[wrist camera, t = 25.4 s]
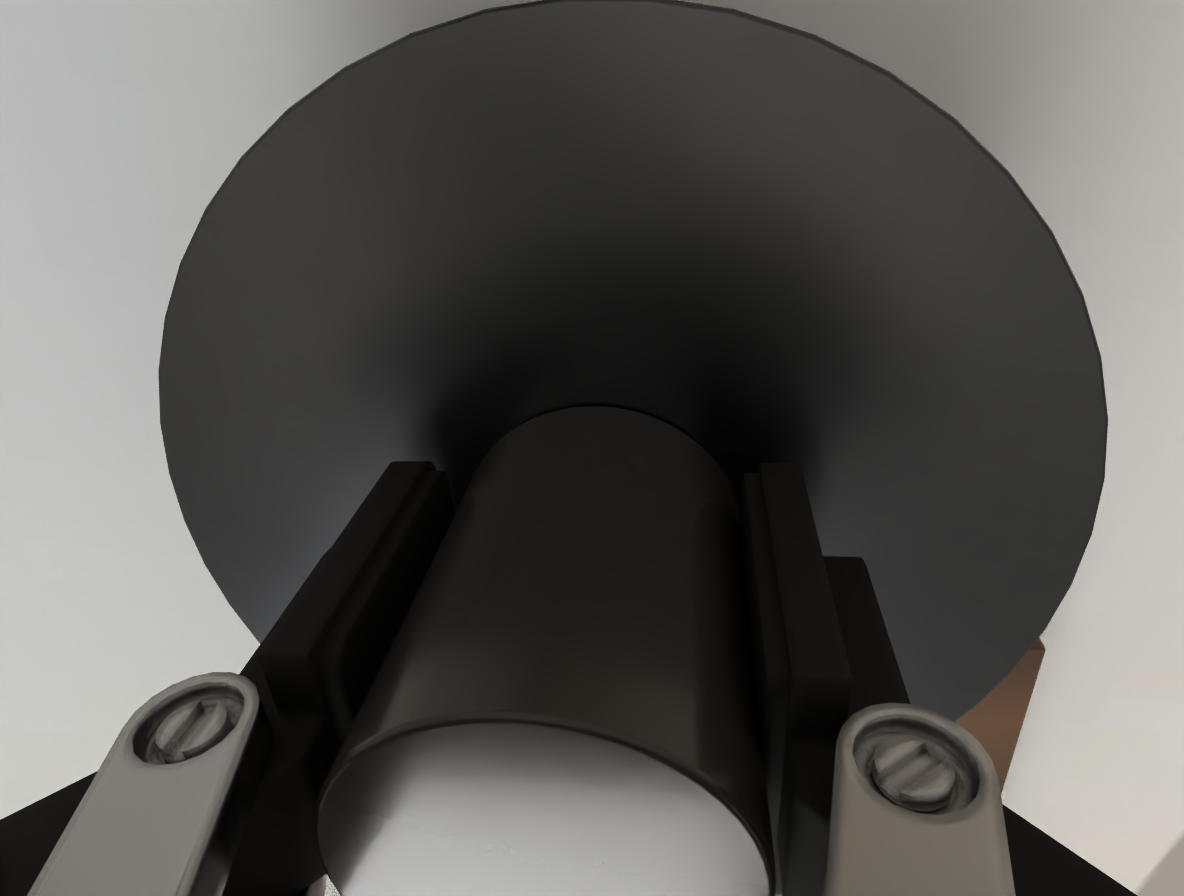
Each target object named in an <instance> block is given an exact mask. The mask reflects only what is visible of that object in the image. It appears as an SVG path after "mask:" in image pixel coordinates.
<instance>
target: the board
mask: <svg viewBox="0 0 1184 896" xmlns="http://www.w3.org/2000/svg"><path fill="white" fill-rule="evenodd" d="M1044 653H1045V647H1044V645H1043V643H1042V642H1041V640H1040V638H1038V639H1037V640H1036V641H1035V643H1034V644H1033V645H1032V646H1031V648H1030V649H1029V650H1028V652H1027V653H1026V654H1025V655H1024V657H1023V658H1022V659H1021V660H1020V662H1019V663H1018V664H1017V665H1016V667H1015V668H1014V669H1013V670H1012V671H1011V672H1010V673H1009V674H1008V675H1007V676H1006V677H1005V678H1004V679H1003V680H1002V681H1001V682H1000V683H999V684H998V685H997V686H996V687H995V688H994V689H993V690H992V691H991V692H990V693H989V694H988V695H987V696H986V697H985V698H984V699H983V700H981V701H980V702H979V703H978V704H977V705H976V706H975V707H974V708H972V709H971V710H970V711H968V712H967V713H966V714H964V715H963V716H962V717H961V718H959V719H958V720H957V721H955V722H957V723H958V724H960V725H961V726H962V727H963V728H964V729H966V730H967V731H968V732H969V733H970V734H971V735H973V736H974V737H975V738H976V739H977V740H978V741H979V742H980V744H981V745H982V746H983V748H984V749H985V751H986V752H987V753H988V755H989V756H990V757H991V759H992V762H993V765H994V767H995V770H996V773H997V776H998V779H999V786H1000V793H1002V789H1003V786H1004V783H1005V780H1006V776H1007V773H1008V770H1009V767H1010V763H1011V760H1012V757H1013V754H1014V750H1015V747H1016V744H1017V741H1018V737H1019V734H1020V731H1021V727H1022V724H1023V721H1024V718H1025V714H1026V711H1027V708H1028V705H1029V701H1030V698H1031V695H1032V692H1033V688H1034V685H1035V682H1036V679H1037V675H1038V672H1039V669H1040V666H1041V662H1042V659H1043V656H1044ZM775 896H782V895H781V894H775Z"/></svg>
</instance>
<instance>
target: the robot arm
mask: <svg viewBox="0 0 1184 896" xmlns="http://www.w3.org/2000/svg"><path fill="white" fill-rule="evenodd" d="M453 517H454V508H453V503H452V497H451V492H450V486H449V481H448V477H447V474H446V472H444V471H436V468H435V466H434V464H433V463H432V462H431V461H392V462H391V463H390V464H389V465H388V467H387V468H386V470H385V471H384V472H383V474H382V475H381V477H380V478H379V480H378V481H377V483H376V484H375V485H374V487H373V488H372V490H371V491H370V493H369V494H368V495H367V497H366V498H365V500H364V501H363V503H362V504H361V505H360V507H359V508H358V510H357V511H356V513H355V514H354V515H353V517H352V518H351V520H350V521H349V523H348V524H347V525H346V527H345V528H344V530H343V531H342V533H341V534H340V535H339V537H338V538H337V540H336V541H335V543H334V544H333V545H332V547H331V548H330V549H329V550H328V551H327V552H326V553H325V554H324V555H323V556H322V558H321V559H320V560H319V562H318V563H317V565H316V566H315V568H314V569H313V570H312V572H311V573H310V575H309V576H308V578H307V579H306V580H305V582H304V583H303V585H302V586H301V587H300V589H299V590H298V592H297V593H296V595H295V596H294V597H293V599H292V600H291V602H290V603H289V605H288V606H287V607H286V609H285V610H284V612H283V613H282V614H281V616H280V617H279V619H278V620H277V622H276V623H275V624H274V626H273V627H272V629H271V630H270V632H269V633H268V634H267V636H266V637H265V639H264V640H263V641H262V643H261V644H260V646H259V647H258V649H257V650H256V651H255V653H254V654H253V656H252V657H251V659H250V660H249V661H248V663H247V664H246V666H245V667H244V668H243V670H242V671H241V673H240V674H239V675H238V674H235V673H231V672H212V673H208V674H203V675H198V676H194V677H191V678H188V679H186V680H183V681H181V682H178V683H176V684H173V685H171V686H170V687H168V688H166V689H165V690H163V691H161V692H160V693H158V694H156V695H155V696H153V697H152V698H150V699H149V700H148V701H147V702H146V703H145V704H144V705H142V706H141V707H140V708H139V709H138V710H137V711H136V712H134V714H133V715H132V716H131V718H130V719H129V720H128V722H127V723H126V724H125V726H124V727H123V728H122V730H121V732H120V733H119V735H118V737H117V739H116V740H115V742H114V744H113V746H112V747H111V749H110V751H109V753H108V754H107V756H106V758H105V760H104V762H103V763H102V765H101V767H100V769H99V770H98V771H97V772H95V773H93V774H91V775H89V776H87V777H85V778H83V779H81V780H79V781H77V782H75V783H73V784H71V785H69V786H67V787H65V788H63V789H61V790H59V791H57V792H55V793H53V794H51V795H49V796H47V797H45V798H43V799H41V800H39V801H37V802H35V803H33V804H31V805H29V806H27V807H25V808H23V809H21V810H19V811H17V812H15V813H13V814H11V815H9V816H7V817H5V818H3V819H1V820H0V896H324V894H325V889H326V877H327V873H326V871H325V868H324V866H323V864H322V862H321V860H320V856H319V853H318V850H317V846H316V841H315V830H314V818H315V810H316V802H317V799H318V796H319V793H320V791H321V788H322V785H323V783H324V781H325V779H326V777H327V775H328V772H329V770H330V768H331V766H332V764H333V762H334V760H335V758H336V756H337V754H338V752H339V750H340V748H341V746H342V744H343V742H344V740H345V738H346V736H347V734H348V732H349V729H350V727H351V725H352V723H353V721H354V719H355V717H356V715H357V713H358V711H359V709H360V707H361V705H362V703H363V701H364V699H365V697H366V695H367V693H368V691H369V689H370V686H371V684H372V682H373V680H374V678H375V676H376V674H377V672H378V670H379V668H380V666H381V664H382V662H383V660H384V658H385V656H386V654H387V652H388V650H389V648H390V646H391V643H392V641H393V639H394V637H395V635H396V633H397V631H398V629H399V627H400V625H401V623H402V621H403V619H404V617H405V615H406V613H407V611H408V609H409V607H410V605H411V603H412V600H413V598H414V596H415V594H416V592H417V590H418V588H419V586H420V584H421V582H422V580H423V578H424V576H425V574H426V572H427V570H428V568H429V566H430V564H431V562H432V560H433V557H434V555H435V553H436V551H437V549H438V547H439V545H440V543H441V541H442V539H443V537H444V535H445V533H446V531H447V529H448V527H449V525H450V523H451V521H452V519H453ZM741 536H742V547H743V558H744V568H745V579H746V589H747V600H748V610H749V621H750V631H751V642H752V652H753V663H754V674H755V684H756V695H757V705H758V716H759V726H760V737H761V747H762V756H763V760H764V765H765V770H766V780H767V790H768V800H769V811H770V821H771V831H772V841H773V851H774V861H775V871H776V892H775V894H781V895H782V896H1137V895H1135V894H1134V893H1133V892H1131V891H1130V890H1128V889H1127V888H1125V887H1124V886H1122V885H1121V884H1119V883H1118V882H1116V881H1115V880H1113V879H1112V878H1110V877H1109V876H1107V875H1106V874H1105V873H1103V872H1102V871H1100V870H1099V869H1097V868H1096V867H1094V866H1093V865H1091V864H1090V863H1088V862H1087V861H1085V860H1084V859H1082V858H1081V857H1079V856H1078V855H1077V854H1075V853H1074V852H1072V851H1071V850H1069V849H1068V848H1066V847H1065V846H1063V845H1062V844H1060V843H1059V842H1057V841H1056V840H1054V839H1053V838H1051V837H1050V836H1048V835H1047V834H1046V833H1044V832H1043V831H1041V830H1040V829H1038V828H1037V827H1035V826H1034V825H1032V824H1031V823H1029V822H1028V821H1026V820H1025V819H1023V818H1022V817H1020V816H1019V815H1018V814H1016V813H1015V812H1013V811H1012V810H1010V809H1009V808H1007V807H1006V806H1004V805H1003V804H1002V799H1001V793H1000V786H999V779H998V776H997V773H996V770H995V767H994V765H993V762H992V759H991V757H990V756H989V755H988V753H987V752H986V751H985V749H984V748H983V746H982V745H981V744H980V742H979V741H978V740H977V739H976V738H975V737H974V736H973V735H971V734H970V733H969V732H968V731H967V730H966V729H964V728H963V727H962V726H961V725H960V724H958V723H957V722H955V721H953V720H951V719H949V718H947V717H945V716H944V715H942V714H940V713H938V712H936V711H933V710H929V709H926V708H923V707H920V706H916V705H913V704H910V701H909V698H908V694H907V691H906V688H905V685H904V682H903V679H902V676H901V672H900V669H899V666H898V663H897V660H896V657H895V654H894V651H893V647H892V644H891V641H890V638H889V635H888V632H887V629H886V626H885V622H884V619H883V616H882V613H881V610H880V607H879V604H878V601H877V597H876V594H875V591H874V588H873V585H872V582H871V579H870V576H869V572H868V569H867V566H866V564H865V562H864V560H863V559H862V558H861V557H842V556H823V555H822V550H821V546H820V542H819V538H818V534H817V530H816V526H815V522H814V517H813V513H812V509H811V505H810V501H809V497H808V493H807V489H806V485H805V480H804V476H803V472H802V468H801V465H800V463H759V467H758V473H744V476H743V496H742V521H741Z"/></svg>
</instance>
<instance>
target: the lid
mask: <svg viewBox="0 0 1184 896" xmlns="http://www.w3.org/2000/svg"><path fill="white" fill-rule="evenodd" d="M159 397H160V424H161V430H162V435H163V441H164V446H165V452H166V458H167V463H168V469H169V474H170V477H171V480H172V483H173V486H174V489H175V493H176V496H177V499H178V502H179V505H180V508H181V511H182V514H183V518H184V521H185V523H186V525H187V527H188V529H189V531H190V533H191V536H192V538H193V540H194V542H195V544H196V546H197V548H198V551H199V553H200V555H201V557H202V559H203V561H204V563H205V565H206V567H207V569H208V570H209V572H210V573H211V575H212V577H213V578H214V580H215V581H216V583H217V585H218V586H219V588H220V590H221V591H222V593H223V594H224V596H225V598H226V599H227V601H228V603H229V604H230V606H231V607H232V608H233V609H234V611H235V612H236V613H237V615H238V616H239V617H240V618H241V620H242V621H243V622H244V623H245V625H246V626H247V627H248V629H249V630H250V631H251V632H252V634H253V635H254V636H255V638H256V639H257V640H258V641H259V643H260V644H261V643H262V641H263V640H264V639H265V637H266V636H267V634H268V633H269V632H270V630H271V629H272V627H273V626H274V624H275V623H276V622H277V620H278V619H279V617H280V616H281V614H282V613H283V612H284V610H285V609H286V607H287V606H288V605H289V603H290V602H291V600H292V599H293V597H294V596H295V595H296V593H297V592H298V590H299V589H300V587H301V586H302V585H303V583H304V582H305V580H306V579H307V578H308V576H309V575H310V573H311V572H312V570H313V569H314V568H315V566H316V565H317V563H318V562H319V560H320V559H321V558H322V556H323V555H324V554H325V553H326V552H327V551H328V550H329V549H330V548H331V547H332V545H333V544H334V543H335V541H336V540H337V538H338V537H339V535H340V534H341V533H342V531H343V530H344V528H345V527H346V525H347V524H348V523H349V521H350V520H351V518H352V517H353V515H354V514H355V513H356V511H357V510H358V508H359V507H360V505H361V504H362V503H363V501H364V500H365V498H366V497H367V495H368V494H369V493H370V491H371V490H372V488H373V487H374V485H375V484H376V483H377V481H378V480H379V478H380V477H381V475H382V474H383V472H384V471H385V470H386V468H387V467H388V465H389V464H390V463H391V462H392V461H431V462H432V463H433V464H434V466H435V468H436V471H444V472H446V474H447V477H448V481H449V486H450V492H451V497H452V503H453V508H454V517H453V519H452V521H451V523H450V525H449V527H448V529H447V531H446V533H445V535H444V537H443V539H442V541H441V543H440V545H439V547H438V549H437V551H436V553H435V555H434V557H433V560H432V562H431V564H430V566H429V568H428V570H427V572H426V574H425V576H424V578H423V580H422V582H421V584H420V586H419V588H418V590H417V592H416V594H415V596H414V598H413V600H412V603H411V605H410V607H409V609H408V611H407V613H406V615H405V617H404V619H403V621H402V623H401V625H400V627H399V629H398V631H397V633H396V635H395V637H394V639H393V641H392V643H391V646H390V648H389V650H388V652H387V654H386V656H385V658H384V660H383V662H382V664H381V666H380V668H379V670H378V672H377V674H376V676H375V678H374V680H373V682H372V684H371V686H370V689H369V691H368V693H367V695H366V697H365V699H364V701H363V703H362V705H361V707H360V709H359V711H358V713H357V715H356V717H355V719H354V721H353V723H352V725H351V727H350V729H349V732H348V734H347V736H346V738H345V740H344V742H343V744H342V746H341V748H340V750H339V752H338V754H337V756H336V758H335V760H334V762H333V764H332V766H331V768H330V770H329V772H328V775H327V777H326V779H325V781H324V783H323V785H322V788H321V791H320V793H319V796H318V799H317V802H316V810H315V818H314V830H315V841H316V846H317V850H318V853H319V856H320V860H321V862H322V864H323V866H324V868H325V871H326V873H327V875H328V877H329V879H330V880H331V882H332V883H333V884H334V886H335V887H336V889H337V890H338V892H339V893H340V895H341V896H775V892H776V871H775V861H774V851H773V841H772V831H771V821H770V811H769V800H768V790H767V780H766V770H765V765H764V760H763V756H762V747H761V737H760V726H759V716H758V705H757V695H756V684H755V674H754V663H753V652H752V642H751V631H750V621H749V610H748V600H747V589H746V579H745V568H744V558H743V547H742V536H741V521H742V496H743V476H744V473H758V467H759V463H800V465H801V468H802V472H803V476H804V480H805V485H806V489H807V493H808V497H809V501H810V505H811V509H812V513H813V517H814V522H815V526H816V530H817V534H818V538H819V542H820V546H821V550H822V555H823V556H842V557H861V558H862V559H863V560H864V562H865V564H866V566H867V569H868V572H869V576H870V579H871V582H872V585H873V588H874V591H875V594H876V597H877V601H878V604H879V607H880V610H881V613H882V616H883V619H884V622H885V626H886V629H887V632H888V635H889V638H890V641H891V644H892V647H893V651H894V654H895V657H896V660H897V663H898V666H899V669H900V672H901V676H902V679H903V682H904V685H905V688H906V691H907V694H908V698H909V701H910V704H913V705H916V706H920V707H923V708H926V709H929V710H933V711H936V712H938V713H940V714H942V715H944V716H945V717H947V718H949V719H951V720H953V721H957V720H958V719H959V718H961V717H962V716H963V715H964V714H966V713H967V712H968V711H970V710H971V709H972V708H974V707H975V706H976V705H977V704H978V703H979V702H980V701H981V700H983V699H984V698H985V697H986V696H987V695H988V694H989V693H990V692H991V691H992V690H993V689H994V688H995V687H996V686H997V685H998V684H999V683H1000V682H1001V681H1002V680H1003V679H1004V678H1005V677H1006V676H1007V675H1008V674H1009V673H1010V672H1011V671H1012V670H1013V669H1014V668H1015V667H1016V665H1017V664H1018V663H1019V662H1020V660H1021V659H1022V658H1023V657H1024V655H1025V654H1026V653H1027V652H1028V650H1029V649H1030V648H1031V646H1032V645H1033V644H1034V643H1035V641H1036V640H1037V639H1038V638H1039V636H1040V635H1041V634H1042V633H1043V631H1044V630H1045V628H1046V627H1047V625H1048V623H1049V622H1050V620H1051V618H1052V617H1053V615H1054V613H1055V611H1056V610H1057V608H1058V606H1059V605H1060V603H1061V601H1062V600H1063V598H1064V596H1065V594H1066V593H1067V591H1068V589H1069V588H1070V586H1071V584H1072V582H1073V579H1074V577H1075V574H1076V572H1077V569H1078V567H1079V564H1080V562H1081V559H1082V557H1083V554H1084V552H1085V549H1086V547H1087V544H1088V542H1089V539H1090V537H1091V535H1092V531H1093V526H1094V522H1095V518H1096V513H1097V509H1098V504H1099V500H1100V496H1101V491H1102V487H1103V483H1104V477H1105V460H1106V443H1107V427H1108V415H1107V406H1106V397H1105V388H1104V379H1103V370H1102V361H1101V355H1100V351H1099V348H1098V344H1097V341H1096V337H1095V334H1094V331H1093V327H1092V324H1091V320H1090V317H1089V313H1088V310H1087V306H1086V303H1085V300H1084V296H1083V293H1082V291H1081V289H1080V287H1079V285H1078V283H1077V281H1076V279H1075V277H1074V275H1073V273H1072V271H1071V269H1070V267H1069V265H1068V262H1067V260H1066V258H1065V256H1064V254H1063V252H1062V250H1061V248H1060V246H1059V244H1058V242H1057V240H1056V238H1055V236H1054V234H1053V232H1052V230H1051V229H1050V228H1049V226H1048V225H1047V223H1046V222H1045V221H1044V219H1043V218H1042V217H1041V215H1040V214H1039V212H1038V211H1037V210H1036V208H1035V207H1034V205H1033V204H1032V203H1031V201H1030V200H1029V198H1028V197H1027V196H1026V194H1025V193H1024V192H1023V190H1022V189H1021V187H1020V186H1019V185H1018V183H1017V182H1016V180H1015V179H1014V178H1013V176H1012V175H1011V174H1010V172H1009V171H1008V170H1007V169H1006V168H1005V167H1004V166H1003V165H1002V164H1001V163H1000V162H999V161H998V160H997V159H996V158H995V157H994V156H993V155H992V154H991V153H990V152H989V151H988V150H987V149H986V148H985V147H984V146H982V145H981V144H980V143H979V142H978V141H977V140H976V139H975V138H974V137H973V136H972V135H971V134H970V133H969V132H968V131H967V130H966V129H965V128H964V127H963V126H962V125H961V124H960V123H959V122H958V121H957V120H956V119H955V118H954V117H953V116H951V115H950V114H948V113H947V112H945V111H944V110H943V109H941V108H940V107H938V106H937V105H936V104H934V103H933V102H931V101H930V100H929V99H927V98H926V97H924V96H923V95H922V94H920V93H919V92H917V91H916V90H915V89H913V88H912V87H910V86H909V85H907V84H906V83H905V82H903V81H902V80H900V79H899V78H898V77H896V76H895V75H893V74H892V73H891V72H889V71H887V70H885V69H883V68H881V67H879V66H877V65H875V64H873V63H871V62H869V61H867V60H865V59H863V58H861V57H859V56H857V55H855V54H853V53H851V52H849V51H847V50H845V49H843V48H841V47H839V46H837V45H835V44H833V43H831V42H829V41H827V40H825V39H823V38H820V37H818V36H816V35H814V34H811V33H808V32H805V31H802V30H798V29H795V28H792V27H789V26H786V25H783V24H779V23H776V22H773V21H770V20H767V19H763V18H760V17H757V16H754V15H751V14H748V13H744V12H741V11H738V10H735V9H729V8H723V7H716V6H710V5H703V4H697V3H690V2H683V1H677V0H541V1H534V2H528V3H522V4H515V5H509V6H503V7H496V8H490V9H484V10H481V11H478V12H475V13H472V14H469V15H466V16H463V17H460V18H457V19H454V20H450V21H447V22H444V23H441V24H438V25H435V26H432V27H429V28H426V29H423V30H420V31H416V32H413V33H410V34H408V35H406V36H404V37H403V38H401V39H399V40H397V41H395V42H393V43H391V44H389V45H387V46H385V47H383V48H381V49H379V50H377V51H375V52H373V53H371V54H369V55H367V56H365V57H363V58H361V59H360V60H358V61H356V62H354V63H352V64H350V65H348V66H346V67H344V68H343V69H341V70H340V71H339V72H337V73H336V74H334V75H333V76H332V77H330V78H329V79H328V80H326V81H325V82H324V83H322V84H321V85H320V86H318V87H317V88H316V89H314V90H313V91H311V92H310V93H309V94H307V95H306V96H305V97H303V98H302V99H301V100H299V101H298V102H297V103H295V104H294V105H292V106H291V107H290V108H288V109H287V110H286V111H285V112H284V113H283V114H282V115H281V116H280V117H279V118H278V119H277V121H276V122H275V123H274V124H273V125H272V126H271V127H270V128H269V129H268V130H267V131H266V132H265V133H264V134H263V135H262V136H261V137H260V138H259V139H258V140H257V141H256V142H255V143H254V144H253V145H252V146H251V147H250V148H249V149H248V150H247V151H246V153H245V154H244V155H243V156H242V157H241V158H240V159H239V161H238V162H237V164H236V165H235V167H234V168H233V170H232V171H231V173H230V174H229V175H228V177H227V178H226V180H225V181H224V183H223V184H222V186H221V187H220V189H219V190H218V191H217V193H216V194H215V196H214V197H213V199H212V200H211V202H210V203H209V204H208V206H207V207H206V209H205V211H204V213H203V216H202V218H201V220H200V222H199V224H198V226H197V228H196V230H195V233H194V235H193V237H192V239H191V241H190V243H189V245H188V248H187V250H186V252H185V254H184V256H183V258H182V260H181V263H180V266H179V269H178V273H177V277H176V280H175V284H174V287H173V291H172V294H171V298H170V301H169V305H168V309H167V312H166V316H165V321H164V330H163V338H162V347H161V355H160V364H159Z"/></svg>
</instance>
